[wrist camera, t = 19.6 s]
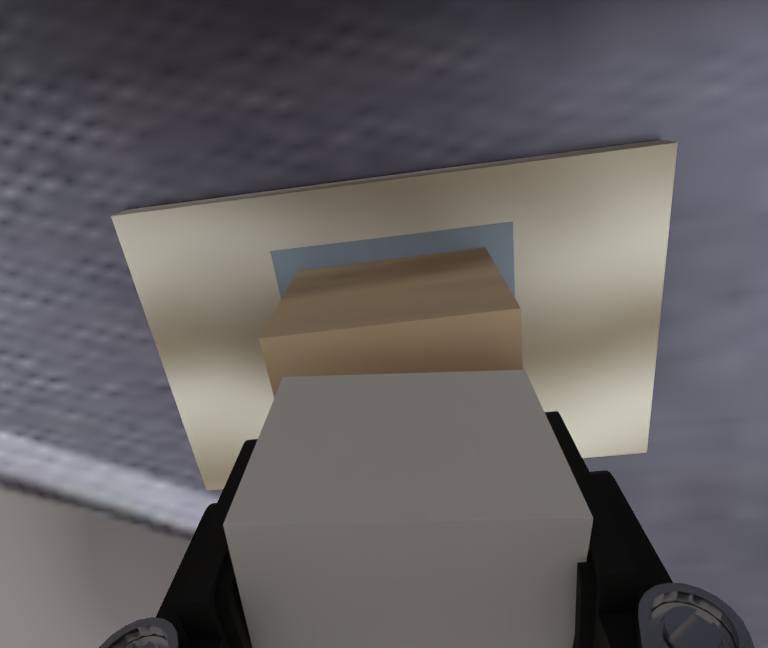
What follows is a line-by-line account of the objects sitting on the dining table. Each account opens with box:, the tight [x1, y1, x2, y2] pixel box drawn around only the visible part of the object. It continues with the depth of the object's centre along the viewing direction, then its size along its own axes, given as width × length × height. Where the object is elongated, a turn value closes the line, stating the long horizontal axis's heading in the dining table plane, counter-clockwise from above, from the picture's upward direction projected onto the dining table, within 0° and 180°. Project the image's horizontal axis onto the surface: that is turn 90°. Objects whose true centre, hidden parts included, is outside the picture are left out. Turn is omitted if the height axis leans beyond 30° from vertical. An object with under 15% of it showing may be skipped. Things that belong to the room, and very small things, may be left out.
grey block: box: [223, 370, 593, 648], centre depth 10 cm, size 5×5×4 cm
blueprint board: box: [111, 140, 677, 490], centre depth 18 cm, size 11×17×1 cm, turn 97°
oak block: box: [259, 247, 523, 398], centre depth 15 cm, size 6×6×5 cm
